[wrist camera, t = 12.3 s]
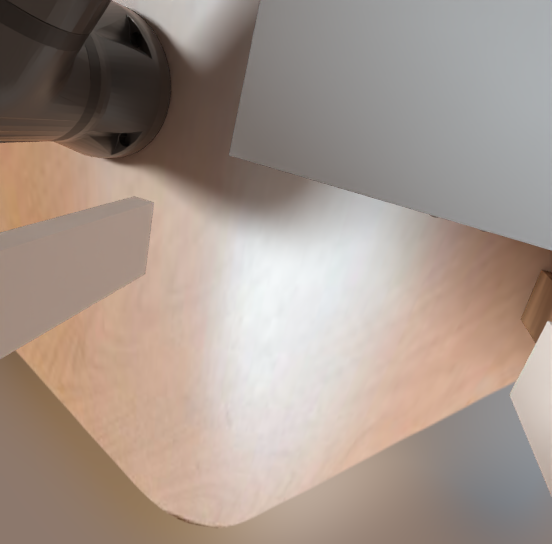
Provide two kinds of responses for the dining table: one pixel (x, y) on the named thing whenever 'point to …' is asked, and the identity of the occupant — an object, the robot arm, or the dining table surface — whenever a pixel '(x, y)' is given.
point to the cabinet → (409, 105)
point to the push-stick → (539, 306)
